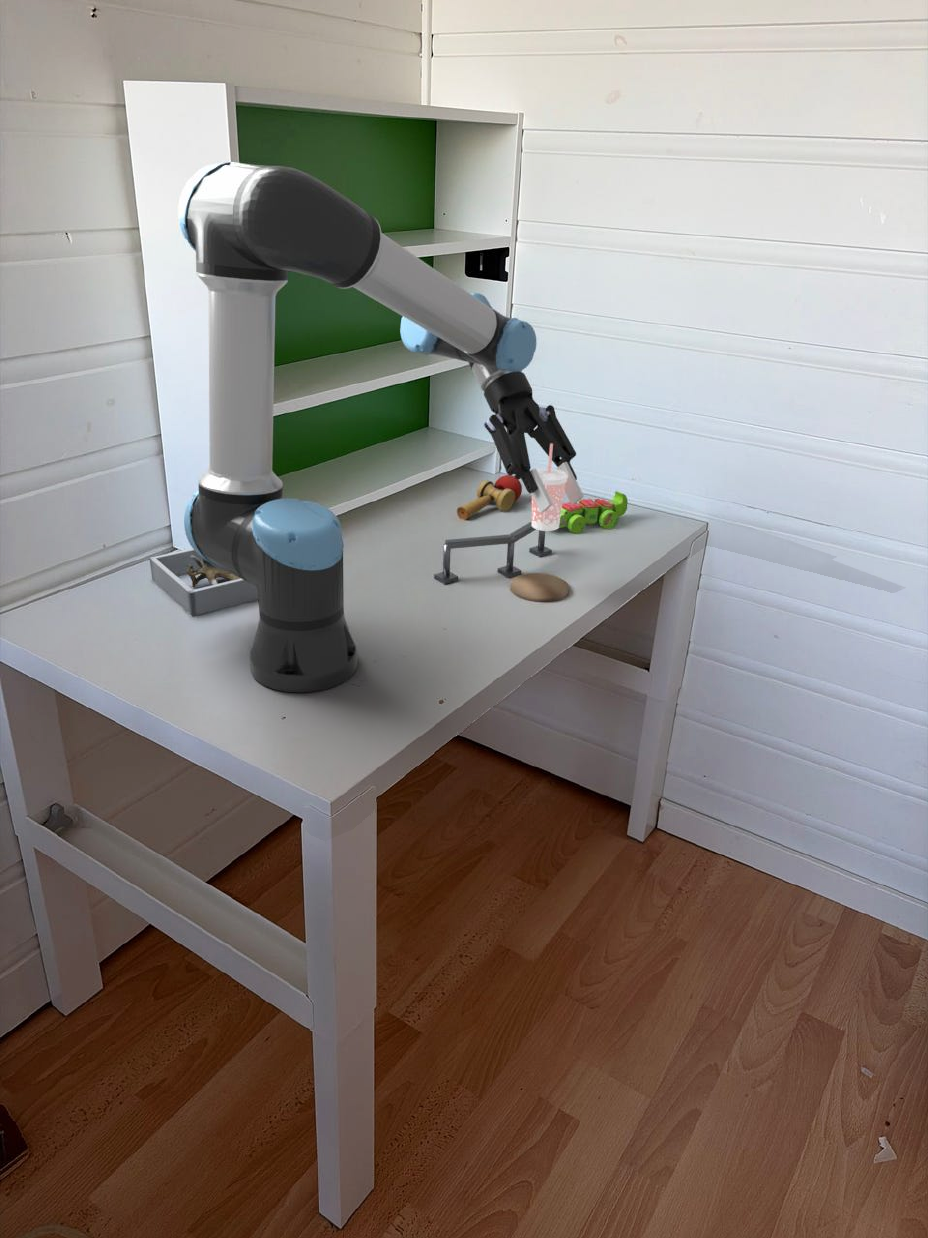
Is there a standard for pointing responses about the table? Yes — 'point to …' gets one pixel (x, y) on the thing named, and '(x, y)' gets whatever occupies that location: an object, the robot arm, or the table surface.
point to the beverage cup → (555, 489)
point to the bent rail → (509, 539)
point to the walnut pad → (539, 587)
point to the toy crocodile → (593, 513)
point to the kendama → (493, 496)
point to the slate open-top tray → (202, 598)
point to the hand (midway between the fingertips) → (562, 504)
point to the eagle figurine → (208, 572)
